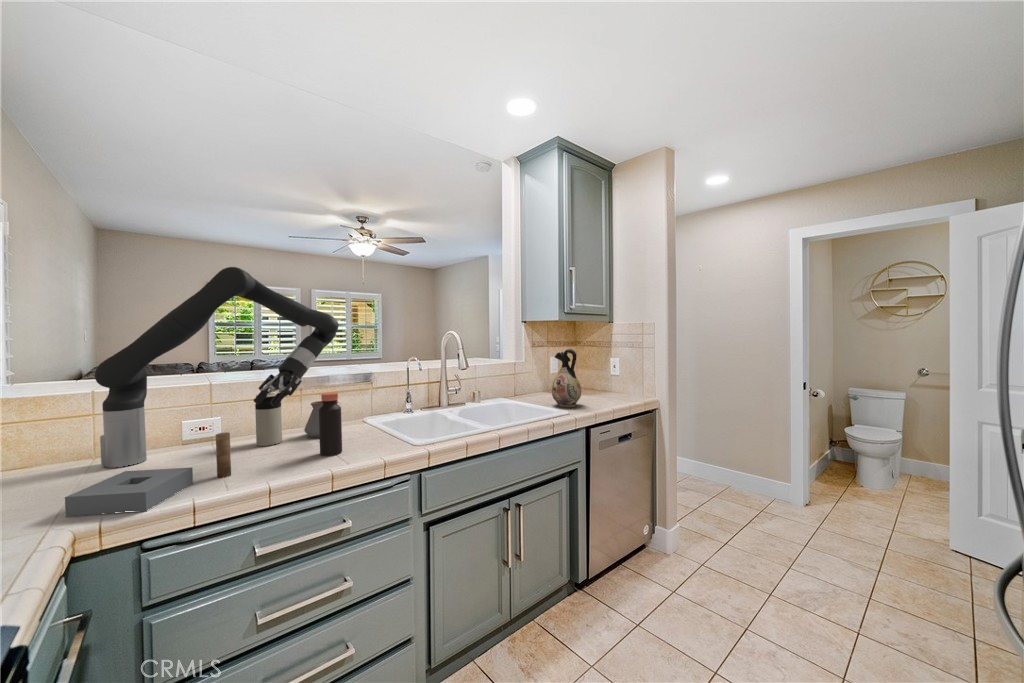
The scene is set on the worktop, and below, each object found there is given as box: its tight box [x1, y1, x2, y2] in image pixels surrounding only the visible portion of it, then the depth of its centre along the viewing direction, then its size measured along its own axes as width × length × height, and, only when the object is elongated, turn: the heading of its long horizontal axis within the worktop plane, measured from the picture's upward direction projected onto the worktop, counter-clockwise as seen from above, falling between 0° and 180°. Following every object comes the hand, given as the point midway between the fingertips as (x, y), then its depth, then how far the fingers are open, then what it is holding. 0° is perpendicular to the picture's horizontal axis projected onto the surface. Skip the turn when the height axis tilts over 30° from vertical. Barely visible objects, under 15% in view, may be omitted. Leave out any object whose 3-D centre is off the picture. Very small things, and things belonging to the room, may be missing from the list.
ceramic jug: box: [551, 348, 582, 408], centre depth 203 cm, size 17×15×30 cm
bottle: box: [318, 391, 343, 457], centre depth 130 cm, size 7×7×20 cm
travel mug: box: [254, 392, 283, 447], centre depth 142 cm, size 8×8×18 cm
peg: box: [215, 431, 232, 479], centre depth 110 cm, size 3×3×12 cm
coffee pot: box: [303, 400, 340, 438], centre depth 149 cm, size 21×12×15 cm, turn 48°
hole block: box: [64, 466, 194, 518], centre depth 96 cm, size 16×16×4 cm
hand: (264, 404), depth 120 cm, fingers open, 8 cm apart
